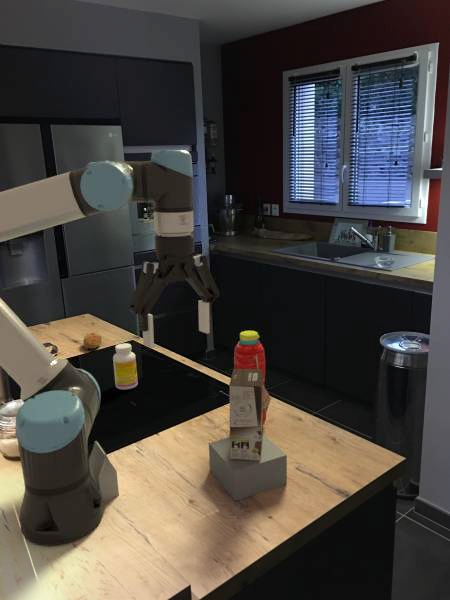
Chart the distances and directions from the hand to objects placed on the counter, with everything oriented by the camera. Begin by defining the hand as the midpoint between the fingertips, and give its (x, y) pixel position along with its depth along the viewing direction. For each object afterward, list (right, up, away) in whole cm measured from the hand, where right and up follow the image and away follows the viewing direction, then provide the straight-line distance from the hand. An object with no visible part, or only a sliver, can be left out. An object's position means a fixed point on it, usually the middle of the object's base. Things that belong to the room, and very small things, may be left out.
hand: (177, 338), depth 106 cm
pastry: (-41, -11, +87) cm, 97 cm away
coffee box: (+14, -23, +3) cm, 28 cm away
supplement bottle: (-20, -18, +53) cm, 60 cm away
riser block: (+14, -30, +5) cm, 34 cm away
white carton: (-15, -32, +2) cm, 35 cm away
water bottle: (+17, -25, +25) cm, 39 cm away
